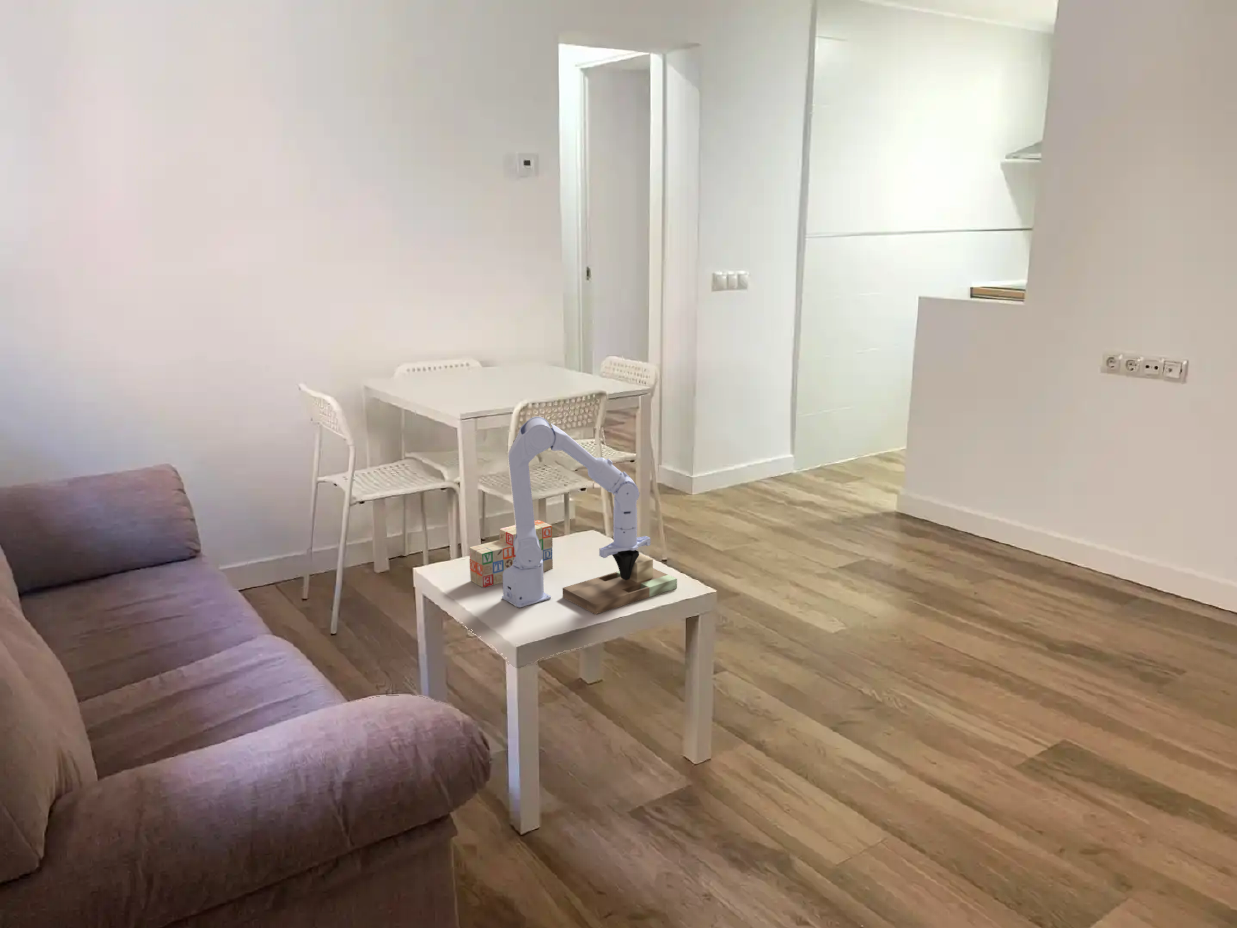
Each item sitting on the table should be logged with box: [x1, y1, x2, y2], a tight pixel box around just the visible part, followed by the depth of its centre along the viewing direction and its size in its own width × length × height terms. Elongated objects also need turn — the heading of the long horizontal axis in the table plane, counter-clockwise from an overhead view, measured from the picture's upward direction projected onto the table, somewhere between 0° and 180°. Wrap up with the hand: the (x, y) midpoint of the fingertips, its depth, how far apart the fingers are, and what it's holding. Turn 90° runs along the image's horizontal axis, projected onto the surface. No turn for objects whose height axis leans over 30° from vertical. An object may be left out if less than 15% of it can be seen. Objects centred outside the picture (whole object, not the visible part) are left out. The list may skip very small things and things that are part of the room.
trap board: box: [562, 567, 678, 615], centre depth 236 cm, size 26×13×2 cm, turn 129°
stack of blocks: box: [468, 519, 554, 589], centre depth 247 cm, size 21×6×12 cm, turn 129°
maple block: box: [630, 553, 654, 583], centre depth 238 cm, size 5×5×5 cm
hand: (625, 578), depth 236 cm, fingers closed
